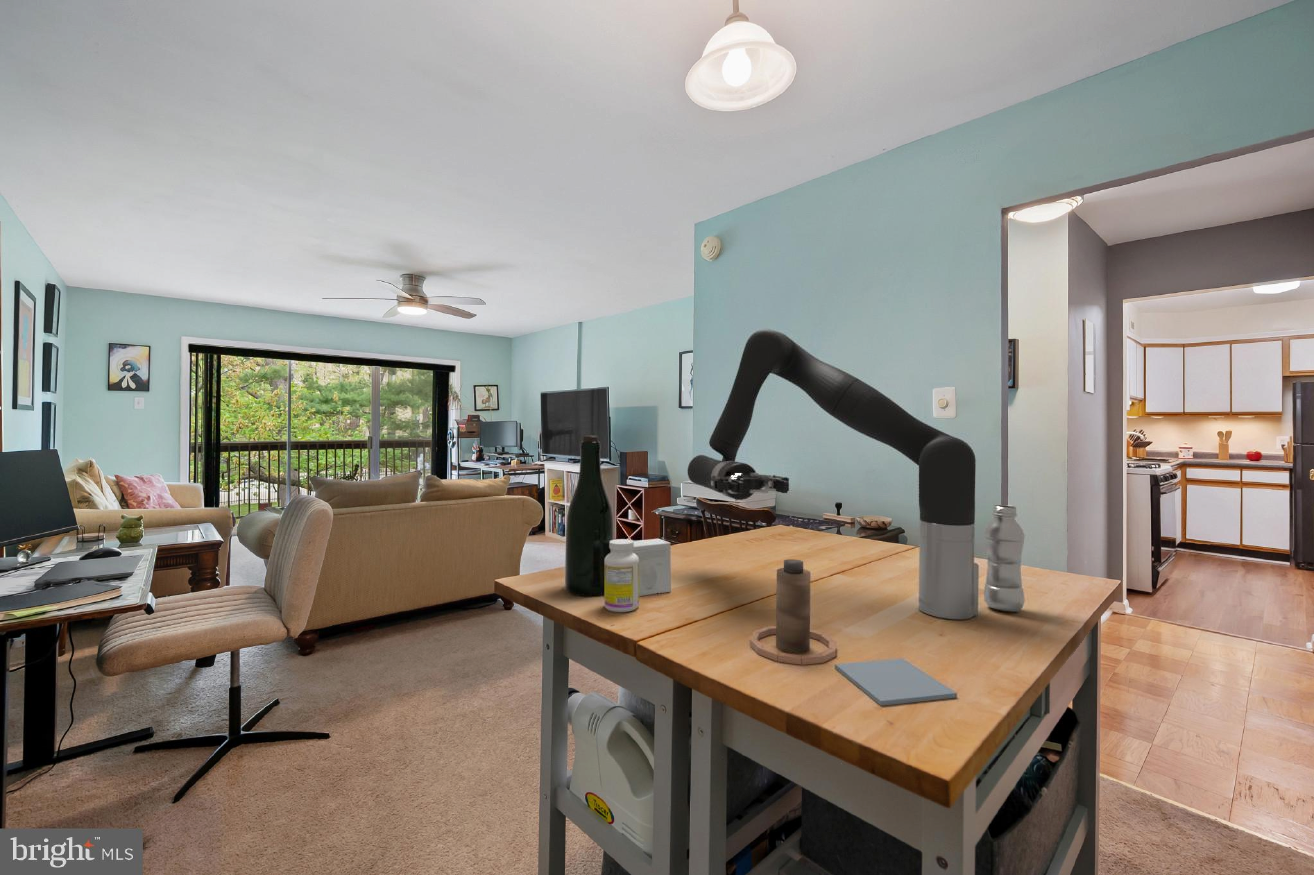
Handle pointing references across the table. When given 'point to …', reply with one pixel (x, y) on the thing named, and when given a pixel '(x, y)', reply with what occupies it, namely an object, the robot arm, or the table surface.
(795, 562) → the pepper mill
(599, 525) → the wine bottle
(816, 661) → the pinkish tan segmented ring
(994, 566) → the plastic bottle
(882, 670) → the mat
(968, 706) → the table surface
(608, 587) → the supplement bottle
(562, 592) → the table surface
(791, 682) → the table surface
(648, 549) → the skincare box
